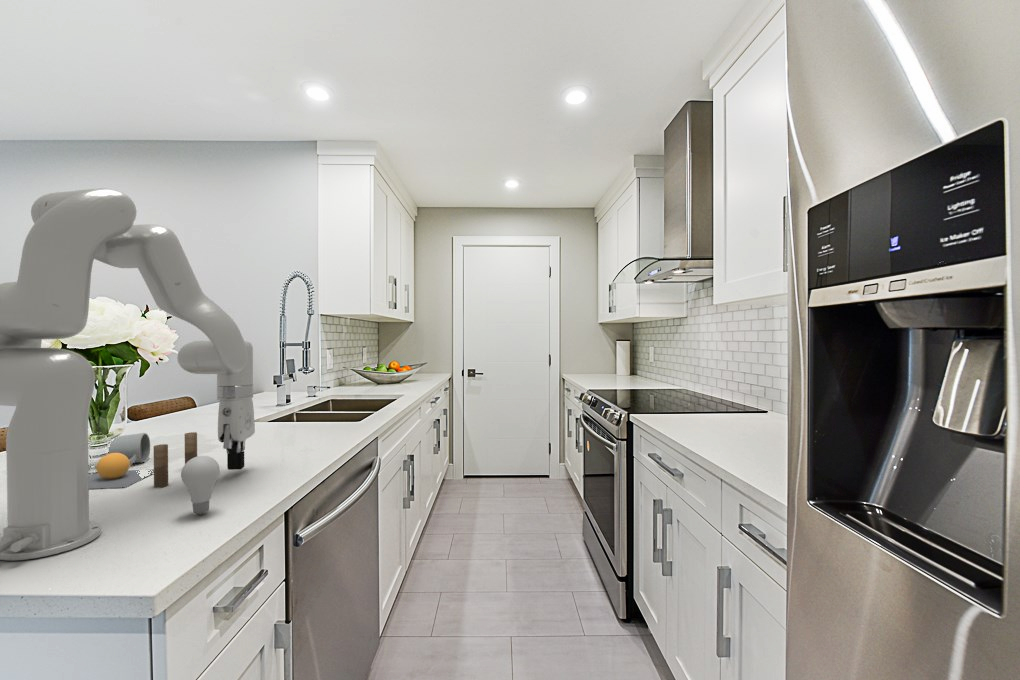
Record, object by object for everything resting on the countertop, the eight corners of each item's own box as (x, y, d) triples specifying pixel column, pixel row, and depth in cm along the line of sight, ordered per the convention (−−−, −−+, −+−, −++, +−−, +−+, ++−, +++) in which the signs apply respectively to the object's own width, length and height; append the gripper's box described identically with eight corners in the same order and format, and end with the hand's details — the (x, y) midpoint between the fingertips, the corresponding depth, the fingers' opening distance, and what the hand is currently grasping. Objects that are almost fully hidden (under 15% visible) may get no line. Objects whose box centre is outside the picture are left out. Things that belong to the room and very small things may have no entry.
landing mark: (125, 487, 106) (125, 487, 106) (53, 491, 103) (53, 490, 103) (161, 469, 119) (161, 469, 119) (98, 472, 117) (98, 471, 117)
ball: (85, 462, 109) (95, 486, 109) (111, 454, 109) (121, 478, 110) (105, 453, 115) (115, 476, 115) (130, 446, 115) (139, 469, 116)
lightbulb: (227, 509, 93) (226, 452, 93) (204, 521, 87) (203, 460, 87) (198, 507, 94) (197, 451, 93) (173, 520, 88) (172, 460, 87)
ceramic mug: (114, 461, 128) (113, 432, 127) (151, 458, 131) (150, 430, 130) (96, 472, 118) (95, 441, 118) (136, 469, 121) (136, 439, 120)
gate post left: (164, 487, 106) (163, 446, 106) (151, 488, 106) (150, 447, 105) (170, 483, 108) (170, 444, 108) (158, 484, 108) (157, 444, 108)
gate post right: (194, 470, 119) (193, 434, 119) (182, 471, 119) (182, 434, 118) (199, 467, 121) (199, 432, 121) (188, 468, 121) (187, 432, 121)
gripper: (239, 396, 108) (240, 477, 109) (263, 388, 123) (263, 460, 123) (203, 396, 107) (204, 478, 107) (231, 389, 122) (232, 461, 122)
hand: (236, 468), depth 115 cm, fingers closed
